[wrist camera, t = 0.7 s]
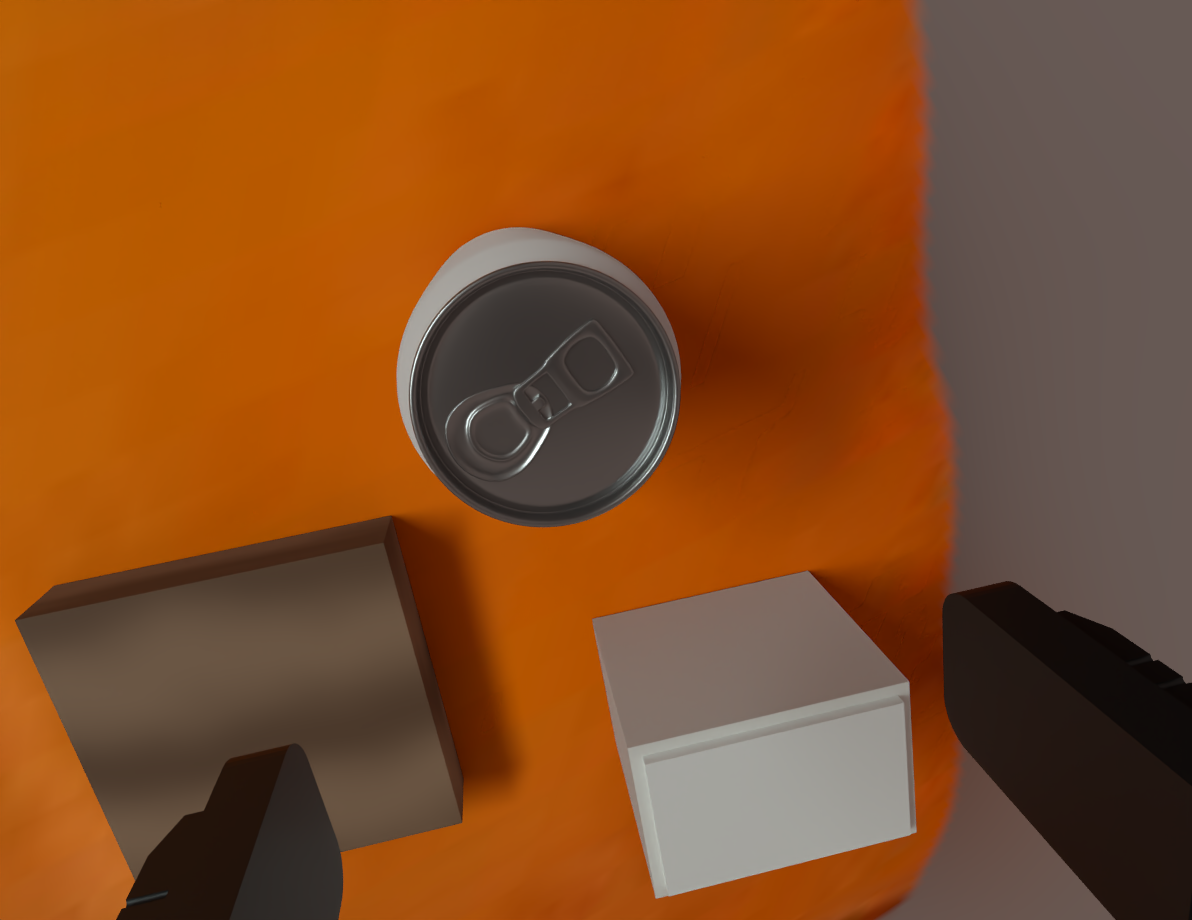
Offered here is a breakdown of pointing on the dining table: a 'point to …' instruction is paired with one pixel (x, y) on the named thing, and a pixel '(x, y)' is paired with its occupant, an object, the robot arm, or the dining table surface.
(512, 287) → the can
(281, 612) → the base
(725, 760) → the white box
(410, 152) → the dining table surface
